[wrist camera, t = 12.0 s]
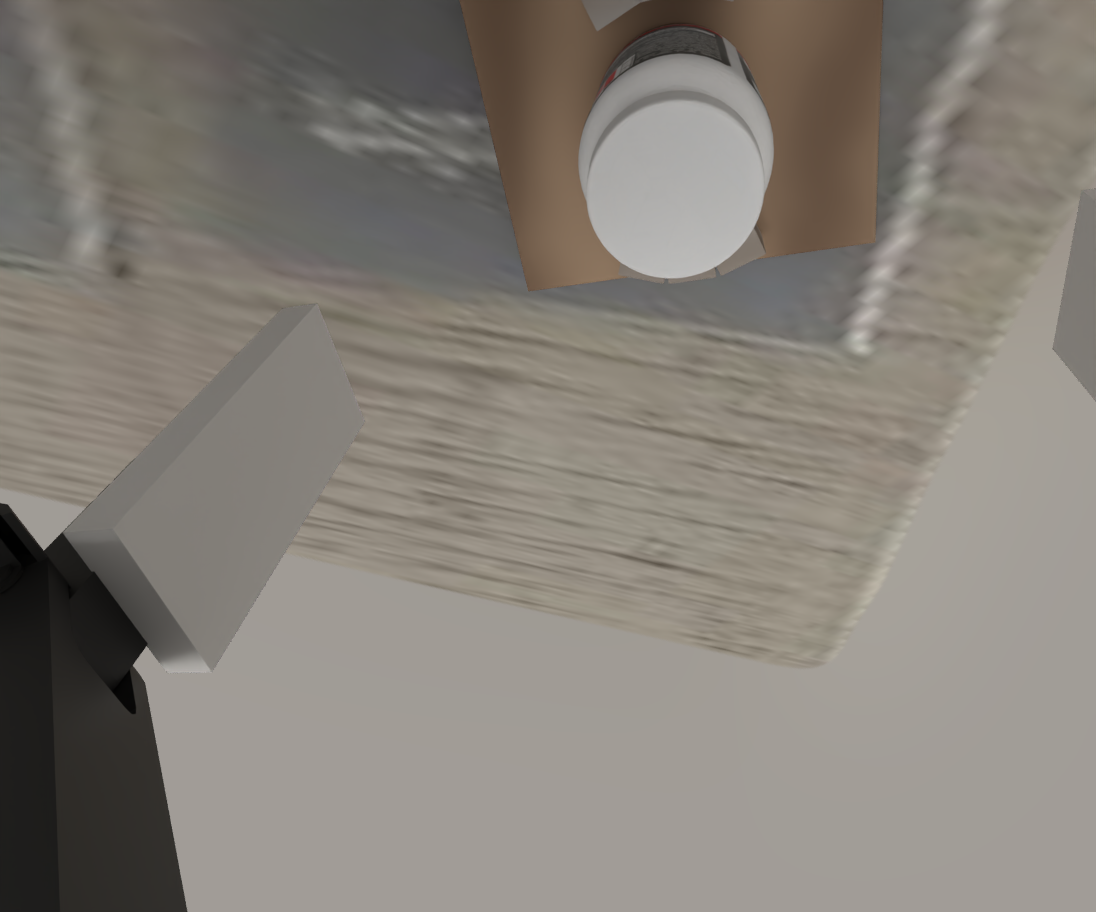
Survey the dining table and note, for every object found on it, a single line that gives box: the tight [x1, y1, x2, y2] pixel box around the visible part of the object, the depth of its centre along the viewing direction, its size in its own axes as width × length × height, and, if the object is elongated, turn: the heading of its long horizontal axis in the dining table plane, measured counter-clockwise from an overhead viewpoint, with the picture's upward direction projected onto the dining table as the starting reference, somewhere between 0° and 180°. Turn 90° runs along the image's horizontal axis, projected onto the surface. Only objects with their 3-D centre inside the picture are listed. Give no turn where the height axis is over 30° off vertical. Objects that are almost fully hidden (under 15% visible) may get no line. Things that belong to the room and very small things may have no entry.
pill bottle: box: [578, 24, 774, 278], centre depth 24 cm, size 6×6×10 cm
